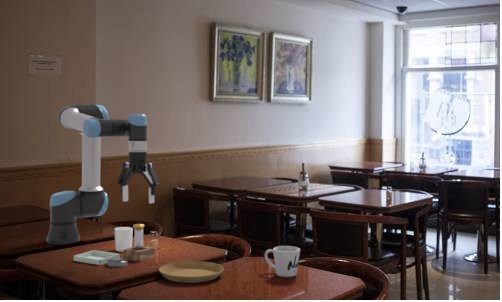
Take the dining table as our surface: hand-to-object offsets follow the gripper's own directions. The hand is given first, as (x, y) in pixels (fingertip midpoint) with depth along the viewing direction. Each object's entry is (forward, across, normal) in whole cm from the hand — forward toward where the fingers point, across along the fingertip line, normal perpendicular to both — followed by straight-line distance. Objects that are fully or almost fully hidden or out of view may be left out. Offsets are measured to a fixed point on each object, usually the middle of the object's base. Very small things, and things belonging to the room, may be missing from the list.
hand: (138, 202), depth 260 cm
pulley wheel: (+24, 0, -13) cm, 27 cm away
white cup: (+24, -15, +9) cm, 30 cm away
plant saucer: (+25, +34, -11) cm, 43 cm away
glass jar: (+23, 0, 0) cm, 23 cm away
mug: (+25, +62, +8) cm, 67 cm away
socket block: (+24, 0, 0) cm, 24 cm away
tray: (+24, -13, -11) cm, 29 cm away
